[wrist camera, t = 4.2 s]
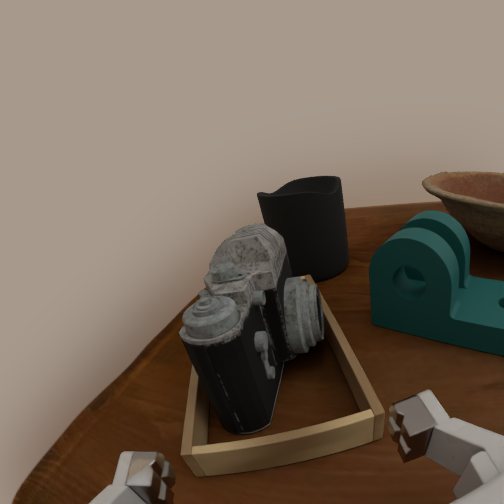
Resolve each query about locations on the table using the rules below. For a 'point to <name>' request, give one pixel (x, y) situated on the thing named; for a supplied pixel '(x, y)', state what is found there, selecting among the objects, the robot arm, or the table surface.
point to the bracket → (435, 286)
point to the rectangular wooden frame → (292, 442)
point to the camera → (250, 326)
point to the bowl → (473, 203)
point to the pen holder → (309, 225)
